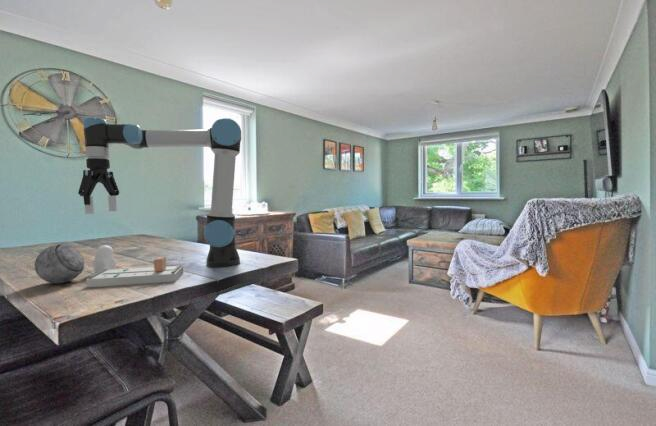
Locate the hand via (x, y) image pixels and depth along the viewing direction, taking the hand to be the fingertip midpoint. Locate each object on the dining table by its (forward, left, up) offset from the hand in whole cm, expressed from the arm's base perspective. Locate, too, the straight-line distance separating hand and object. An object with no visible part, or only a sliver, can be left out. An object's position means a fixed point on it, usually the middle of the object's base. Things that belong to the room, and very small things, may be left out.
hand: (101, 212), depth 131 cm
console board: (-14, +7, -26) cm, 31 cm away
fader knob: (-22, +7, -23) cm, 33 cm away
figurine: (+4, -8, -27) cm, 28 cm away
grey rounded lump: (+14, +4, -27) cm, 30 cm away
